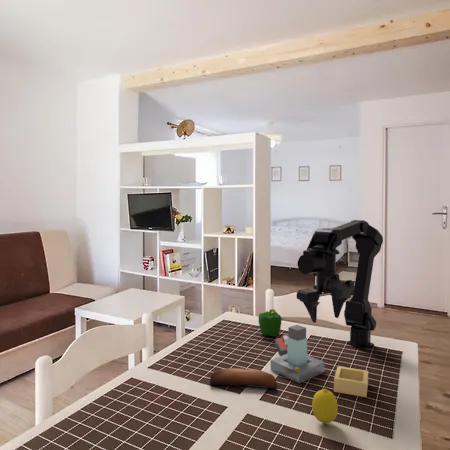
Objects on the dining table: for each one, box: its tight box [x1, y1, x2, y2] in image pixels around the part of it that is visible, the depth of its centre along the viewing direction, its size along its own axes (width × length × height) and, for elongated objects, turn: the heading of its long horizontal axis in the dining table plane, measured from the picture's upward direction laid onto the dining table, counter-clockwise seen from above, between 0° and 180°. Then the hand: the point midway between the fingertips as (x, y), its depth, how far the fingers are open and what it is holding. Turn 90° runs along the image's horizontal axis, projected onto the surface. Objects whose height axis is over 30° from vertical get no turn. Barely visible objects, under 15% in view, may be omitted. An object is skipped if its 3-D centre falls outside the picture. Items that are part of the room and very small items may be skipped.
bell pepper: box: [258, 308, 282, 337], centre depth 144 cm, size 8×8×10 cm
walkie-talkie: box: [274, 335, 288, 357], centre depth 131 cm, size 9×4×20 cm
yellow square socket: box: [333, 365, 369, 398], centre depth 103 cm, size 8×8×4 cm
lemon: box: [311, 388, 339, 425], centre depth 86 cm, size 6×6×8 cm
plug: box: [287, 324, 308, 367], centre depth 113 cm, size 4×4×13 cm
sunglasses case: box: [209, 367, 277, 390], centre depth 107 cm, size 18×7×7 cm
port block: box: [270, 354, 325, 384], centre depth 113 cm, size 11×11×3 cm
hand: (325, 319), depth 119 cm, fingers open, 9 cm apart
